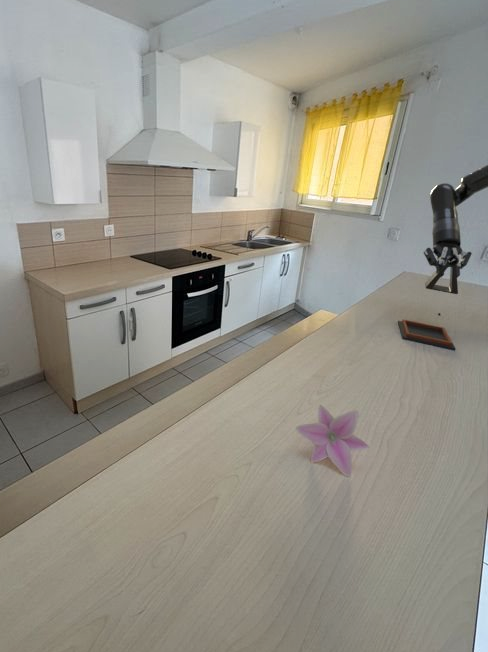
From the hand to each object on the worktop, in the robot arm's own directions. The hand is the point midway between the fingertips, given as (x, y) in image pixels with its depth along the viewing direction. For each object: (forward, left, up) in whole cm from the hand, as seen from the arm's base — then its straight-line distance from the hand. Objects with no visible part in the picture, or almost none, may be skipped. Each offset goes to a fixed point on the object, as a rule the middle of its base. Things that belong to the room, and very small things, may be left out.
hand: (448, 276), depth 108 cm
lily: (+28, +76, -22) cm, 84 cm away
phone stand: (0, -2, -5) cm, 6 cm away
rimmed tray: (+1, +2, -22) cm, 22 cm away
